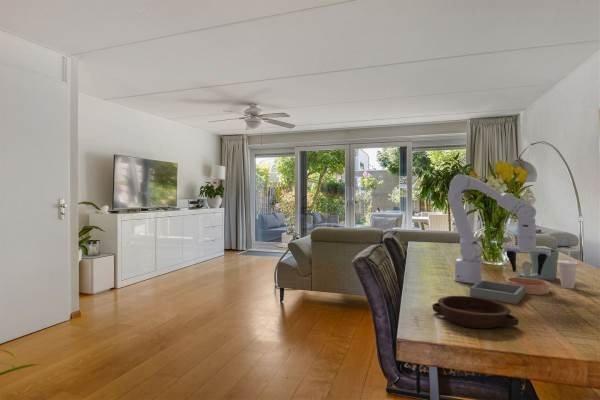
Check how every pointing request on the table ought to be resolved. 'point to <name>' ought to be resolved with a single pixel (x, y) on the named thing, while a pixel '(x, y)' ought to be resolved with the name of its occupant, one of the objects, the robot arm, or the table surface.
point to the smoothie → (567, 272)
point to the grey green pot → (546, 265)
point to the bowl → (530, 285)
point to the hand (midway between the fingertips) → (526, 272)
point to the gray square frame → (498, 291)
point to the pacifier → (526, 272)
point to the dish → (474, 312)
